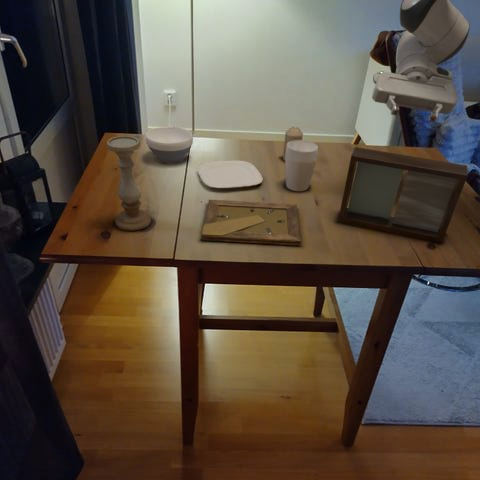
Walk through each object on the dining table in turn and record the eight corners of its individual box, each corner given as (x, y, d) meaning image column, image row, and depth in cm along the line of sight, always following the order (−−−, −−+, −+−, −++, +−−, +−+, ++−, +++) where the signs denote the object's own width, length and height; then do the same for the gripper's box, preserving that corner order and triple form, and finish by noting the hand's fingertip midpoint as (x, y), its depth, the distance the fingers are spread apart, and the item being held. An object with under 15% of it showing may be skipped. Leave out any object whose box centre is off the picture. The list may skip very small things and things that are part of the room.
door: (350, 203, 125) (361, 152, 116) (391, 211, 122) (406, 159, 113) (347, 210, 122) (358, 158, 113) (389, 218, 119) (404, 166, 110)
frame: (341, 211, 125) (355, 146, 113) (442, 231, 119) (467, 165, 107) (337, 222, 121) (351, 155, 109) (441, 243, 115) (467, 175, 103)
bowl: (144, 151, 151) (142, 127, 146) (188, 148, 154) (187, 125, 149) (151, 169, 140) (148, 144, 135) (197, 166, 144) (197, 141, 139)
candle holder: (109, 219, 117) (96, 138, 103) (141, 210, 121) (132, 132, 107) (124, 234, 112) (113, 152, 98) (157, 225, 116) (150, 144, 102)
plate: (249, 164, 146) (250, 158, 145) (267, 188, 134) (268, 183, 132) (193, 168, 142) (193, 162, 141) (206, 194, 129) (206, 188, 128)
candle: (285, 163, 148) (289, 131, 141) (280, 156, 152) (283, 125, 145) (301, 162, 149) (306, 130, 143) (296, 155, 153) (300, 124, 147)
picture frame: (202, 240, 111) (300, 246, 111) (201, 234, 110) (301, 239, 110) (208, 204, 125) (295, 209, 125) (208, 198, 124) (296, 203, 124)
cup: (313, 182, 138) (320, 142, 130) (311, 195, 132) (317, 153, 124) (284, 178, 139) (288, 138, 132) (279, 191, 133) (284, 149, 125)
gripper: (377, 59, 114) (376, 97, 108) (459, 73, 114) (461, 112, 108) (369, 82, 120) (367, 119, 114) (447, 95, 120) (448, 133, 114)
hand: (414, 116), depth 111 cm, fingers open, 8 cm apart
